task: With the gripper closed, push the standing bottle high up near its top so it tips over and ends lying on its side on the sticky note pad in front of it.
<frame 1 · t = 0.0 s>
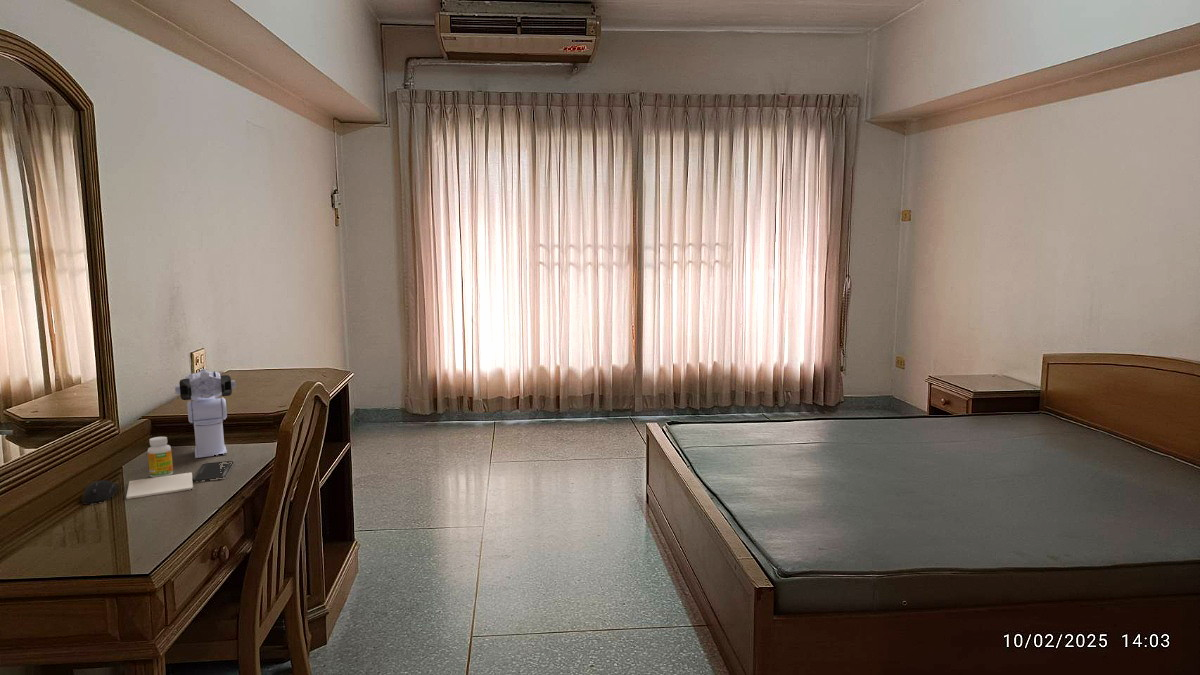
hand: (206, 389, 206), 22 cm above the table, tool horizontal, fingers open, 7 cm apart
gaming mouse: (98, 500, 189), on the table
sticky note pad: (160, 486, 197), on the table
phone: (213, 474, 208), on the table
supplement bottle: (161, 475, 207), on the table
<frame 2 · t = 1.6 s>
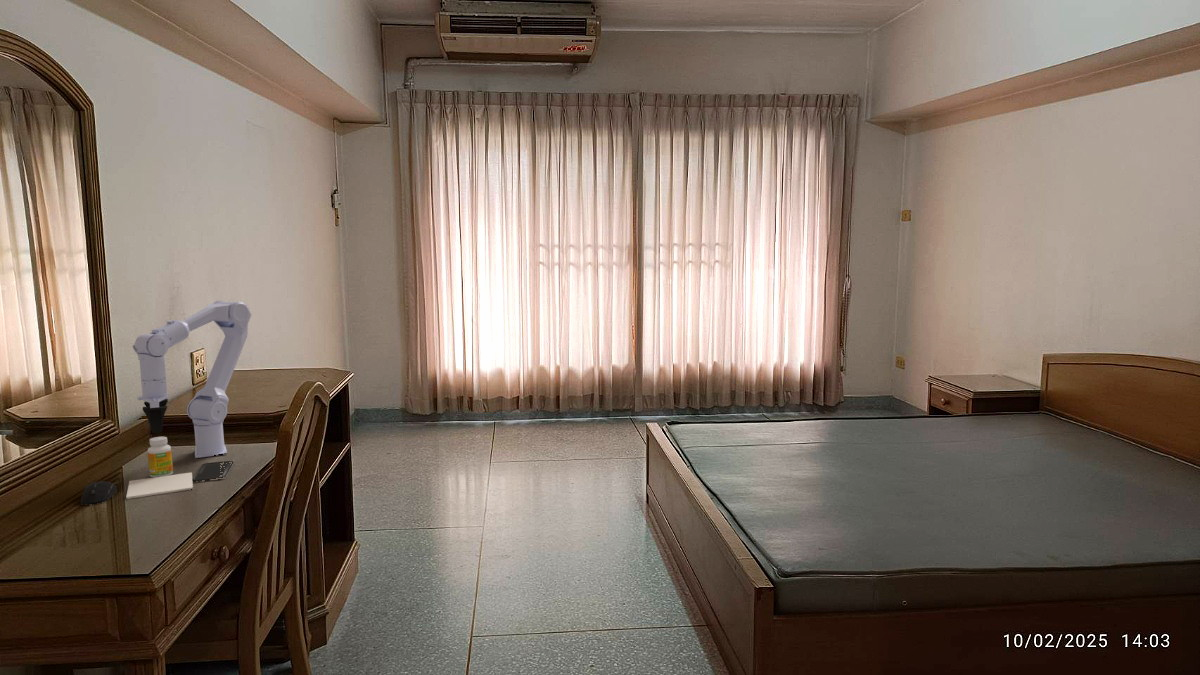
hand: (157, 429, 211), 10 cm above the table, tool pointing down, fingers open, 7 cm apart
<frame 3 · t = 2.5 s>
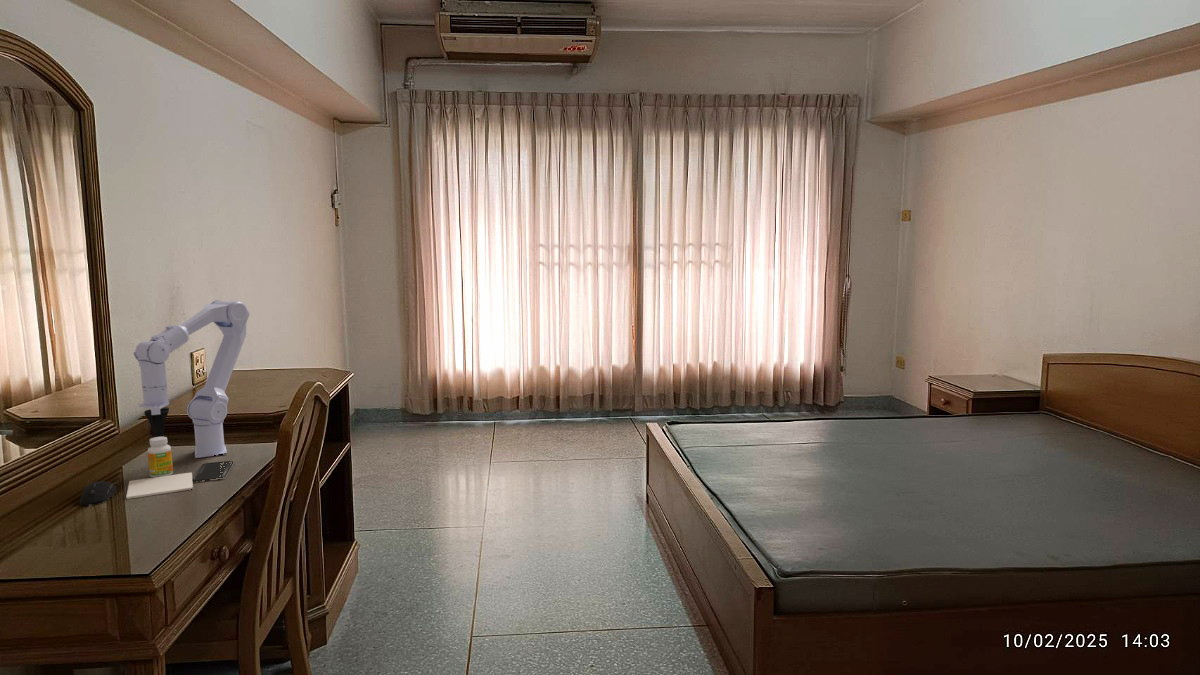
hand: (159, 436, 212), 9 cm above the table, tool pointing down, fingers closed
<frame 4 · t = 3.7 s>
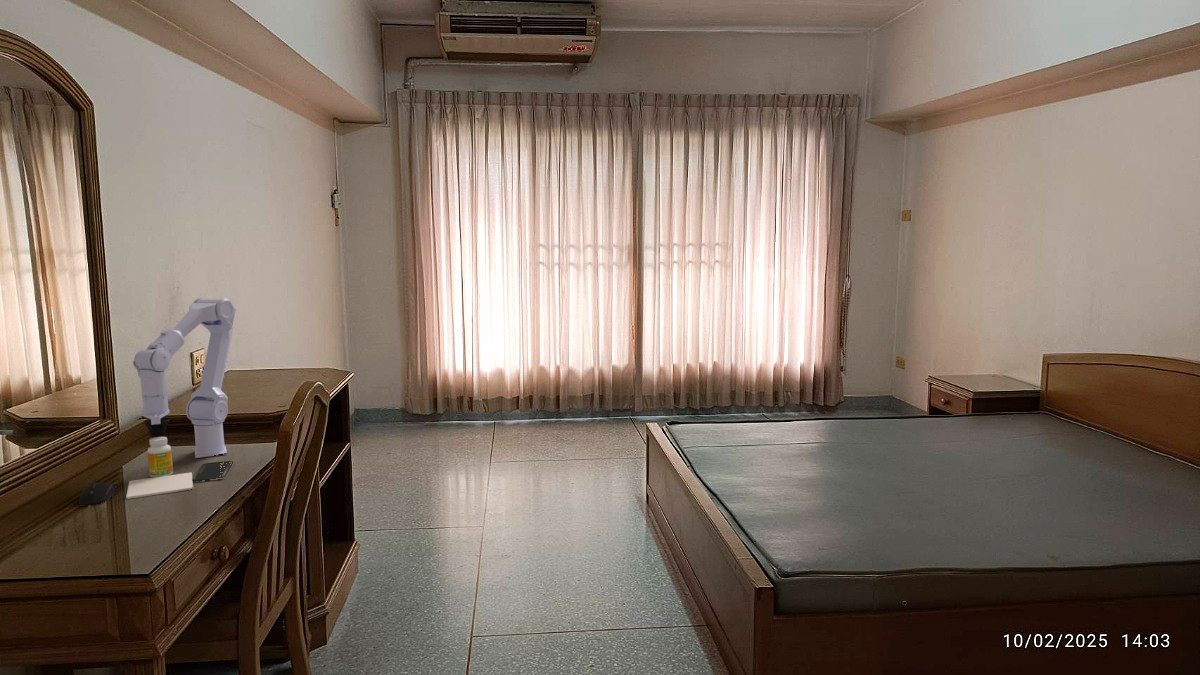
hand: (159, 445, 209), 7 cm above the table, tool pointing down, fingers closed, pressing on supplement bottle
supplement bottle: (161, 475, 207), on the table, touching gripper
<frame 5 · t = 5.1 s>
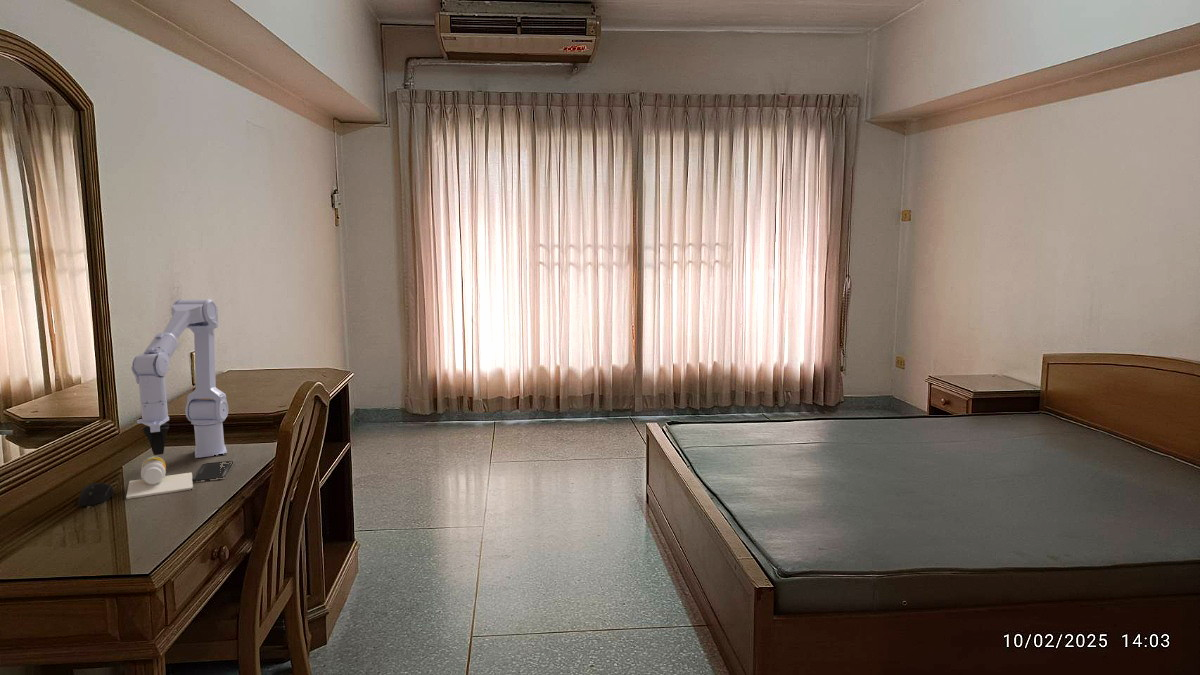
hand: (158, 454, 201), 7 cm above the table, tool pointing down, fingers closed
supplement bottle: (153, 466, 203), point 3 cm above the table, touching sticky note pad
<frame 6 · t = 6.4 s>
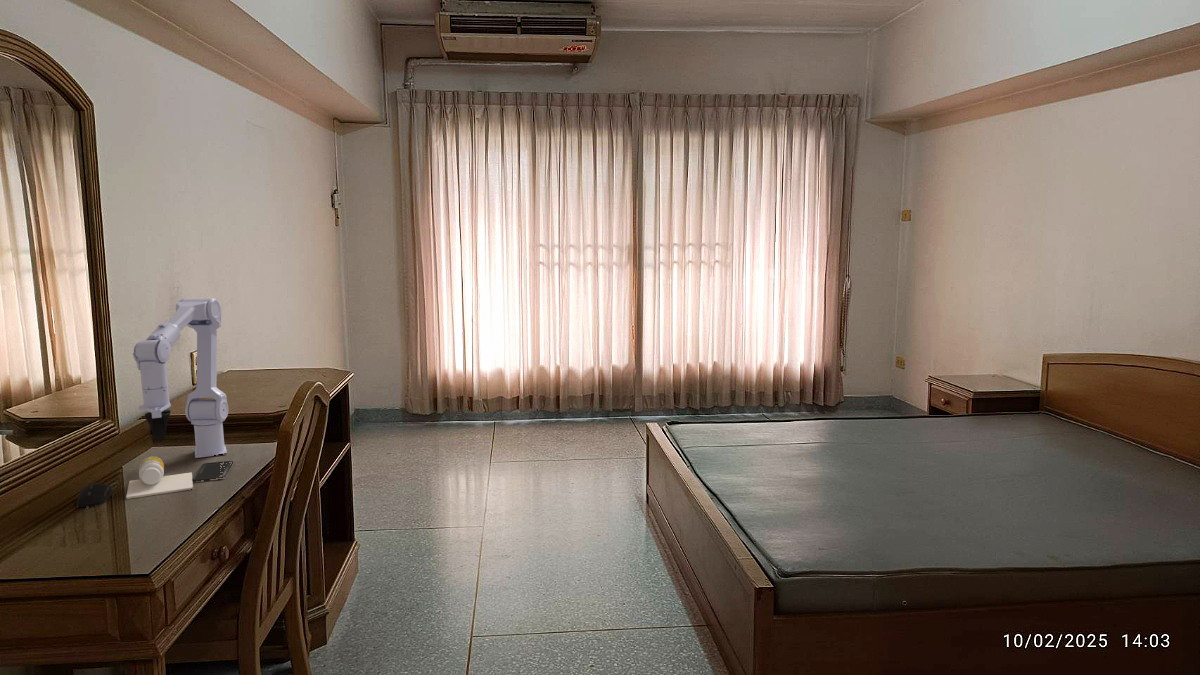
hand: (160, 440, 201), 10 cm above the table, tool pointing down, fingers closed
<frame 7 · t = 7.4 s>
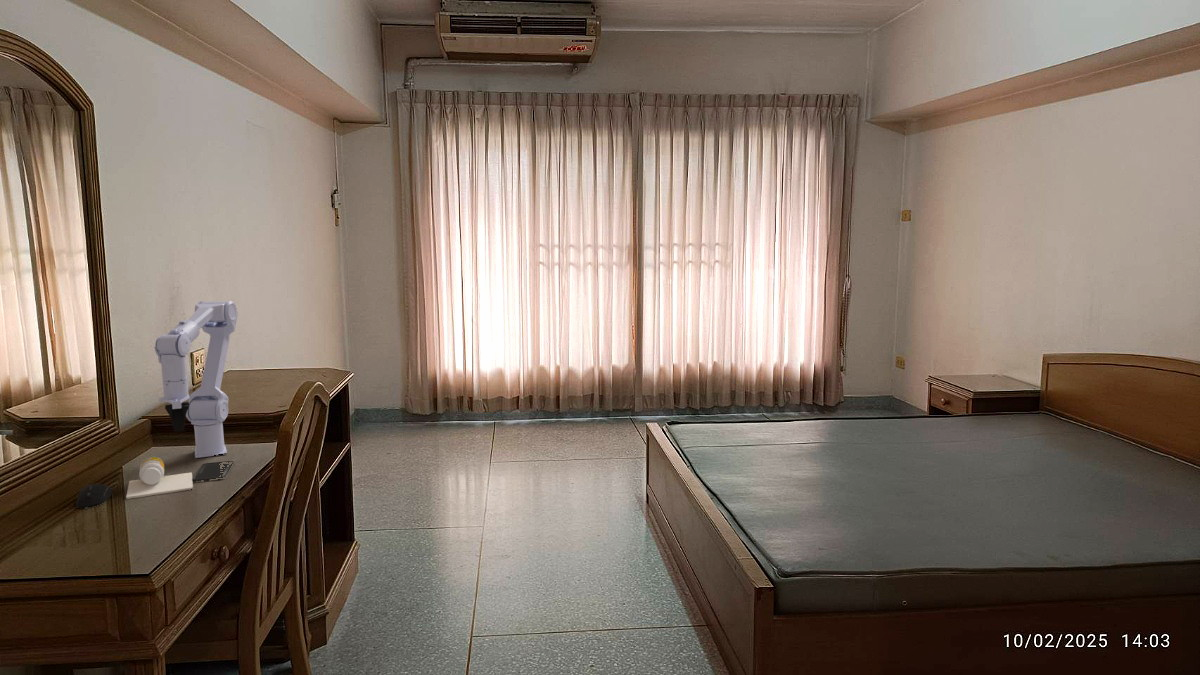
hand: (179, 431, 210), 10 cm above the table, tool pointing down, fingers closed
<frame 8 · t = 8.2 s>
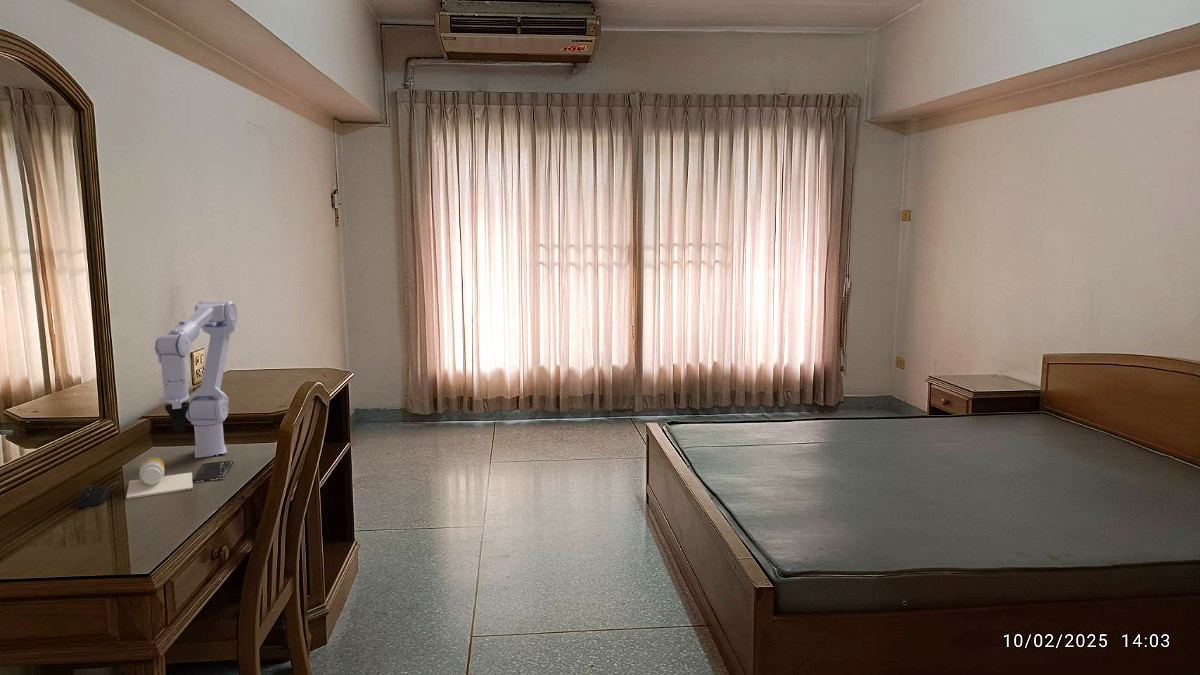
hand: (179, 431, 210), 10 cm above the table, tool pointing down, fingers closed
at the end: supplement bottle tilted 90°; supplement bottle touching sticky note pad; supplement bottle inside the target area (5.0 cm from its centre), point 3.2 cm above the table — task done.
